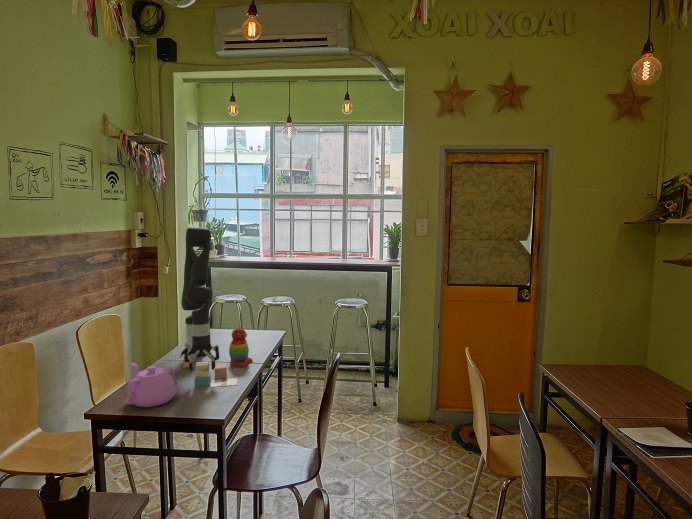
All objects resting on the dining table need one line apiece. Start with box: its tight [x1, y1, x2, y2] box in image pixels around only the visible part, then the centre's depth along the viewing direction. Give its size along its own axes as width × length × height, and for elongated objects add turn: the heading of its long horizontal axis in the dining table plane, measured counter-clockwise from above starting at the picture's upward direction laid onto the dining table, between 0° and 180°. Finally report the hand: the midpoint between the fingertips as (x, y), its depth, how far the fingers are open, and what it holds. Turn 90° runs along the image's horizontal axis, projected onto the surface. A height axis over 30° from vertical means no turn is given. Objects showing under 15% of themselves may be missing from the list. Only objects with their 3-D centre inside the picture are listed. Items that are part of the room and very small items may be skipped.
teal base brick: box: [194, 371, 212, 388], centre depth 192 cm, size 6×6×4 cm
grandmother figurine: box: [179, 341, 194, 370], centre depth 213 cm, size 8×4×13 cm, turn 117°
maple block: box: [195, 360, 210, 377], centre depth 192 cm, size 5×5×5 cm
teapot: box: [125, 361, 178, 408], centre depth 175 cm, size 22×22×14 cm
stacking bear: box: [228, 326, 253, 368], centre depth 218 cm, size 11×10×18 cm
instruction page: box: [210, 377, 239, 388], centre depth 193 cm, size 8×11×1 cm
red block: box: [213, 363, 228, 380], centre depth 200 cm, size 5×5×5 cm
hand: (202, 370), depth 192 cm, fingers open, 8 cm apart
